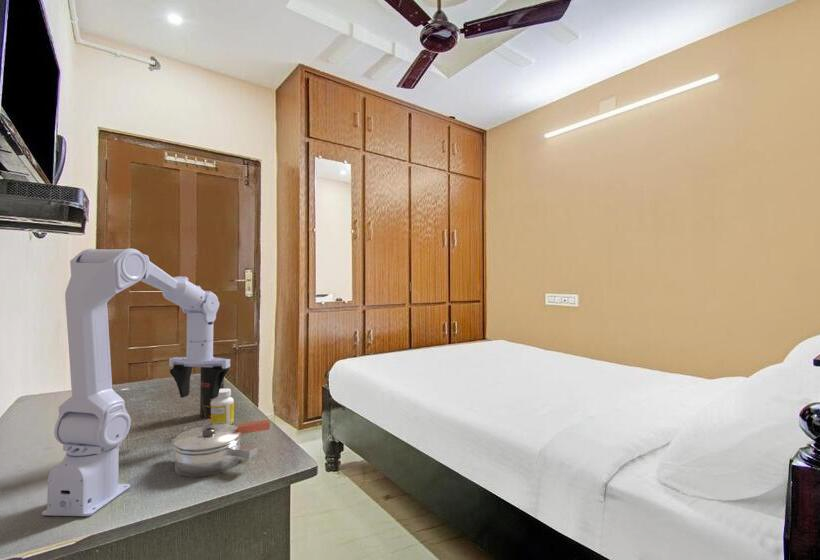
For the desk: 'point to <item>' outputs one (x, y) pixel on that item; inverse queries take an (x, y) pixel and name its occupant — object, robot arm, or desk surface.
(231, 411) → the supplement bottle
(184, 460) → the pot
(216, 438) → the lid
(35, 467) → the desk surface
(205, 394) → the deodorant
